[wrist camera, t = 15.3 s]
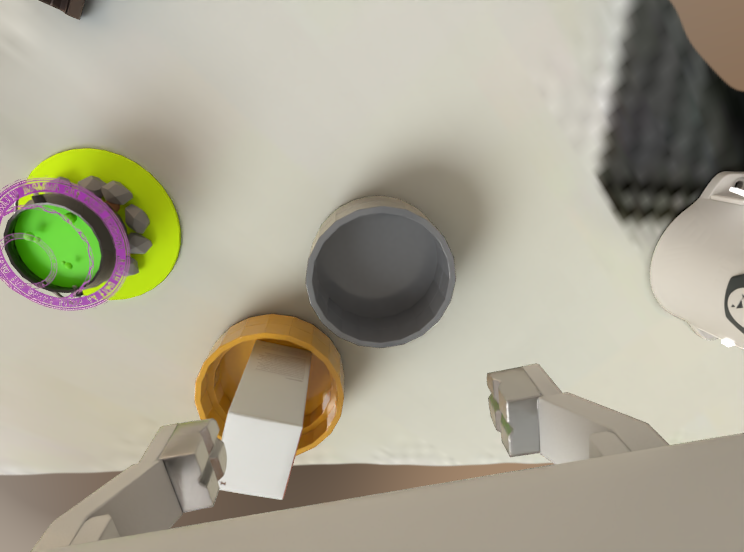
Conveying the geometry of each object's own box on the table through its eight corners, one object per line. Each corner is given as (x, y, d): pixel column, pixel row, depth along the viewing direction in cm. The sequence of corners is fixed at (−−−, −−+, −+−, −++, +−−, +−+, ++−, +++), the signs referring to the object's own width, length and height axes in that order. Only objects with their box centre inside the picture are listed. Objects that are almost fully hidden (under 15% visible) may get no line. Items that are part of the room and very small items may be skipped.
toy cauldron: (-8, 163, 41) (-127, 177, 31) (152, 135, 41) (88, 140, 31) (56, 310, 46) (-28, 365, 36) (199, 285, 46) (157, 333, 36)
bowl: (330, 302, 48) (328, 321, 43) (353, 417, 53) (354, 446, 48) (192, 324, 48) (175, 347, 43) (228, 437, 53) (217, 469, 48)
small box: (297, 411, 51) (283, 502, 39) (242, 400, 50) (209, 490, 38) (314, 350, 49) (304, 427, 37) (256, 337, 48) (225, 411, 36)
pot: (434, 185, 44) (447, 194, 39) (448, 310, 49) (461, 335, 43) (298, 207, 44) (291, 220, 39) (324, 330, 49) (321, 358, 43)
